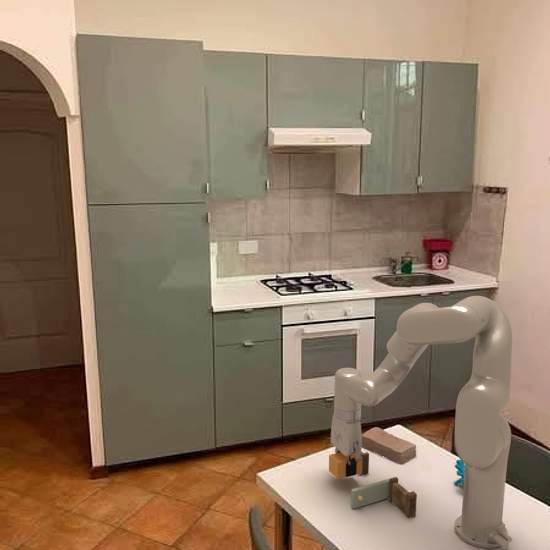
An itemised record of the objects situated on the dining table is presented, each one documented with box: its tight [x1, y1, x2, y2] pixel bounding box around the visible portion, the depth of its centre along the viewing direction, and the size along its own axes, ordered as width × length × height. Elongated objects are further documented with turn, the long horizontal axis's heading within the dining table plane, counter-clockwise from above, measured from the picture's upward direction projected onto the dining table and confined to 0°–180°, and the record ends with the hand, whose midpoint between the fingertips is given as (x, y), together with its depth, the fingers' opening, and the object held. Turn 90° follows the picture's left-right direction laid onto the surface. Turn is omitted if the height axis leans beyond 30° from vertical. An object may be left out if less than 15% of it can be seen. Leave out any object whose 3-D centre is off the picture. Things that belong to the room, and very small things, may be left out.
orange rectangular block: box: [328, 451, 362, 480], centre depth 166 cm, size 5×8×5 cm, turn 113°
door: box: [350, 478, 390, 509], centre depth 157 cm, size 13×2×5 cm, turn 115°
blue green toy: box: [453, 459, 465, 486], centre depth 166 cm, size 11×6×10 cm
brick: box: [361, 426, 417, 465], centre depth 186 cm, size 17×8×5 cm, turn 43°
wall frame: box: [360, 450, 418, 519], centre depth 164 cm, size 30×2×6 cm, turn 23°
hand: (345, 470), depth 167 cm, fingers closed on orange rectangular block, 4 cm apart
